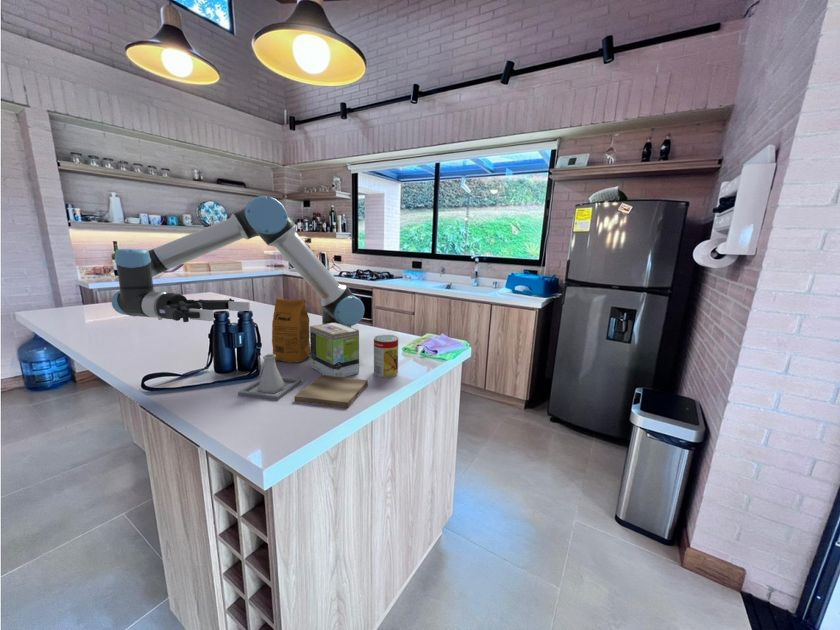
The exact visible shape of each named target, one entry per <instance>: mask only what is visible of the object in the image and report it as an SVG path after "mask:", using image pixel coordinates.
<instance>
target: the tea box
mask: <svg viewBox="0 0 840 630" xmlns="http://www.w3.org/2000/svg"><path fill="white" fill-rule="evenodd" d="M351 327H352V326H351ZM351 327H348V326H345V325H341V324H338V323H328V324H322V323H321V324H316V325H309V336H310V338H309V344H310V364H311V368H312V369H314V370H315V371H318V372H319V373H321V374H322V375H324V376H334V377H343V378H348V377H350V376H353V375H358V374H359V373H360V330H359V329H358V328H357V329H356V328H354V327H352V328H351Z"/></svg>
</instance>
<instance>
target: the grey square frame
mask: <svg viewBox="0 0 840 630" xmlns="http://www.w3.org/2000/svg"><path fill="white" fill-rule="evenodd" d="M281 377H282V376H281ZM282 379H283V381H284V383H285V384H286V383H288V384H290V385H289V386H287V387H286V388H284V389H283V390H280V391H279V393H277V394H275V393H261V392H258V391H256V392H255V391H252V390H253V389H255V388H258V386H259V383H260V380H261V378H260V379H257V380H256V381H255V382H253V383H251V384H248V385H247V386H245V387H244V388H242V389H240V390H239V391H237V396H239V397H246V398H256V399H257V398H258V399H264V400H271V401H272V400H273V401H279V400H280V399H282V398H283V397H285V396H286V395H288V394H289V393H290V392H292V391H293V390H294V389H296V388H298V386H299V385H301V384H302V383H303V380H302V379H299V378H290V377H282Z"/></svg>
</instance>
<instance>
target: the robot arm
mask: <svg viewBox="0 0 840 630" xmlns="http://www.w3.org/2000/svg"><path fill="white" fill-rule="evenodd" d="M296 228H297V224H295V222H294V221H293V219H292V218H291V217H290V216H289V215H288V212H287V210H286V207H285V206H284V204H283V203H281V202H280V201H279V200H277V199H276V198H274V197H272V196H269V195H268V196H267V195H259V196H256V197H254V198H252V199H251V200H250V201H248V202H247V204H246V206H245V207H244V208H242V209H240V210H238V211H236V212H233V213H232V214H231V216H230V218H227V219H224V220H223V221H222V220H221V221H220V222H217V223H215V224H211V225H209V226H208V227H204V228H201V229H200V230H196V231H195V232H192V233H189V234H187V235H185V236H182V237H180V238H177V239H174V240H172V241H169V242H167V243H165V244H162V245H160V246H157V247H154V248H152V249H149V250H147V249H140V248H118V249H117V250H115V252H114V253H115V255H114V256H115V260H114V262H115V265H116V272H117V278H118V284H119V290H118V291H116V292H115V293H113V296H112V299H111V306H112V309H114V311H115V312H117V313H119V314H120V315H125V316H130V317H143V318H144V317H145V318H154V319H158V320H159V321H160V320H161V321H162V320H163V319H166V320H173V321H176V322H179V321H181V319H182V322H183V323H188V322H189V321H190V320H196V321H206V322H213V321H215V319H214V316H215V315H214V311H220V310H221V311H222V310H224V311H225V310H228V311H234V312H243V311H249V312H251V310H250V309H251V308H250V302H249V301H248V302H247V301H235V300H234V299H232V298H229V297H228V298H229V299H198V300H197V299H196V300H195V299H187V297H186V296H185V295H183V294H181V293H175V292H173V293H172V292H165V291H164V292H162V291H154V289H155V288H154V283H153V278H154V277H155V276H156V277H157V275H159V274H162V273H165V272H167V271H169V270H171V269H173V268H176V267H178V266H181V265H182V264H185V263H188V262H190V261H192V260H195V259H197V258H199V257H202V256H205V255H207V254H209V253H211V252H213V251H216V250H219V249H221V248H223V247H226V246H228V245H230V244H233V243H235V242H237V241H240V240H243V239H245V240H250V239H252V238H255V237H260V238H261V239H262V241H263V242H264V243H265V244H266V245H267V246H269V247H274V248H276V250H278V252H279V253H280V255H282V256H283V257H284V258H285V260H286V261H287V262H288V263H289V264H290V265H291V266H292V268H293V269H294V270H296V271H297V273H298V274H299V275H300V277H301V278H302V279H303V280H304V281H305V282H306V283H307V284H308V285H309V287H310V288H312V290H313V291H314V292H315V293H316V294H317V296H318V297H320V298H321V302H320V304H321V318H322V319H321V321H322V322H321V324H328V323H338V324H341V325H345V326H348V327H351V328H353V327H352V326H355V325H357V324H359V322H360V321H361V320H362V319H363V317H364V315H365V305H364V303H363V301H362V300H361V299H360V298H359V297H357V296H355V295H354V293H353V292H352V291H351V290H350V288H348V286H347V285H346V284H340V283H339V282H338V280H337V279H336V278H335V277H334V276H333V274H332V273H331V272H330V271H329V269H328V268H327V267H326V266H325V265H324V263H322V261H321V260H320V259H319V258H318V257H317V255H316V254H315V253H314V252H313V251H312V250H311V248H310V246H308V244H307V243H306V242H305V241H304V240H303V238H302V237H301V236H300V235H299V234H298V233H297V231H296ZM249 312H248V313H249Z"/></svg>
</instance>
